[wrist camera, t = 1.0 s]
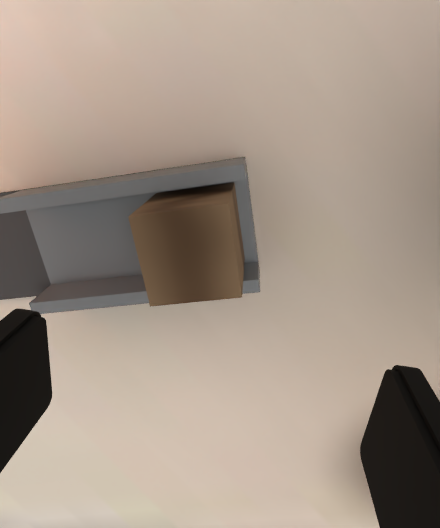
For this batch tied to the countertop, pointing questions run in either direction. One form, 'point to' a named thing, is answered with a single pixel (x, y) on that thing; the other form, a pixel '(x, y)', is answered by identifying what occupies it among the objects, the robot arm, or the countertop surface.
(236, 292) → the block
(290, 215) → the countertop surface
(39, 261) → the mat
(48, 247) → the chute
